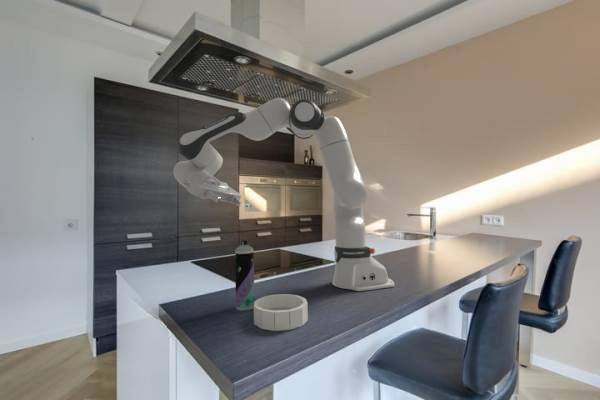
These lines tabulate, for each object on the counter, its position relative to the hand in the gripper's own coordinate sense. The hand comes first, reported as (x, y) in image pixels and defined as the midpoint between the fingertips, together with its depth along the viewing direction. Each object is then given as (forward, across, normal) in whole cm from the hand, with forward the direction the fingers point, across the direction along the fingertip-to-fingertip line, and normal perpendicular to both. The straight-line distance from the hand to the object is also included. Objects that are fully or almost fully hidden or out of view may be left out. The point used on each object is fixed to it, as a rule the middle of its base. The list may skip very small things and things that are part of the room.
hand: (229, 201), depth 98 cm
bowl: (+36, -3, +18) cm, 41 cm away
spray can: (+23, 0, +25) cm, 34 cm away
